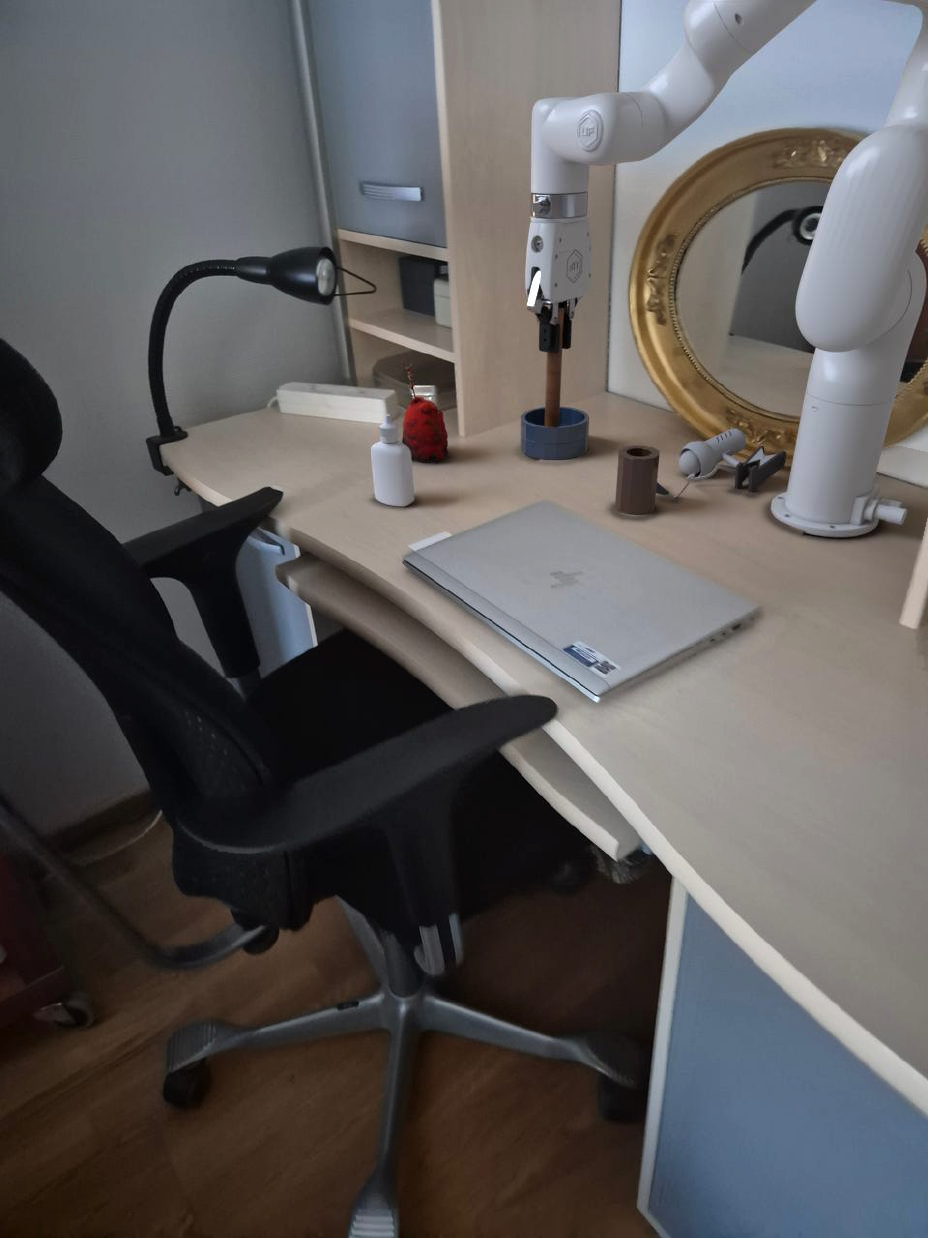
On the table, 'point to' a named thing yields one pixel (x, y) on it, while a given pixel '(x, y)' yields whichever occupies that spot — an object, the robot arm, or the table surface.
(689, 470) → the clip-on lamp
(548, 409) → the stick
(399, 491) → the eye dropper bottle
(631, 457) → the holder
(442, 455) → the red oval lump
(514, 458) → the table surface
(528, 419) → the bowl
